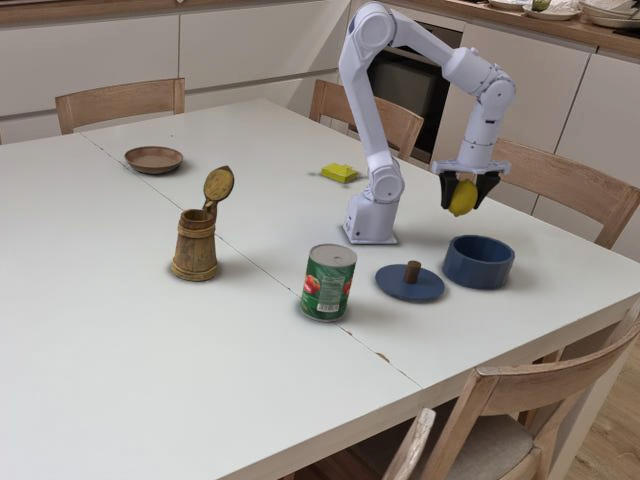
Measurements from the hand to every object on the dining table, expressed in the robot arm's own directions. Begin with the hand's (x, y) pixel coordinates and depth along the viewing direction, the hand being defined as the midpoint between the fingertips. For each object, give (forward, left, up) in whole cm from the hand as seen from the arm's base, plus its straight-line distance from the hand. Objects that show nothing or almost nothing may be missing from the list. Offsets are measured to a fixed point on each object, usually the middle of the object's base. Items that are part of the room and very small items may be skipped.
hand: (458, 207), depth 134 cm
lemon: (0, 0, -2) cm, 2 cm away
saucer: (-60, +41, -8) cm, 73 cm away
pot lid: (-14, -17, -7) cm, 23 cm away
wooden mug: (-52, -9, -8) cm, 53 cm away
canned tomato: (-32, -25, -8) cm, 41 cm away
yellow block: (-14, +35, -8) cm, 39 cm away
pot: (0, -13, -8) cm, 15 cm away
